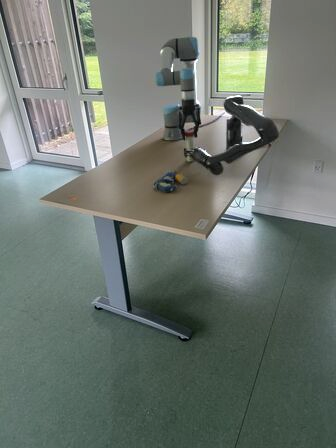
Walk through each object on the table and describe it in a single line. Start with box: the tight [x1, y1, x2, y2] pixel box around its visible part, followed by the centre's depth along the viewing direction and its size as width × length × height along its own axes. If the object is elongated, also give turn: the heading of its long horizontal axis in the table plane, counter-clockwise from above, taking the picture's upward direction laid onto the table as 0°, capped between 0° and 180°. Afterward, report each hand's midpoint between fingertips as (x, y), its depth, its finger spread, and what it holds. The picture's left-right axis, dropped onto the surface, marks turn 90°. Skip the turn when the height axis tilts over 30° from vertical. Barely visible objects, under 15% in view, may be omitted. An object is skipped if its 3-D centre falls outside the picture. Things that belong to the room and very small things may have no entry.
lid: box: [185, 129, 194, 137], centre depth 198 cm, size 5×6×2 cm
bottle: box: [185, 136, 195, 163], centre depth 202 cm, size 5×5×18 cm
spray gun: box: [152, 170, 188, 193], centre depth 177 cm, size 21×4×15 cm
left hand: (189, 138), depth 200 cm, fingers open, 7 cm apart
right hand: (188, 148), depth 205 cm, fingers closed on bottle, 4 cm apart
